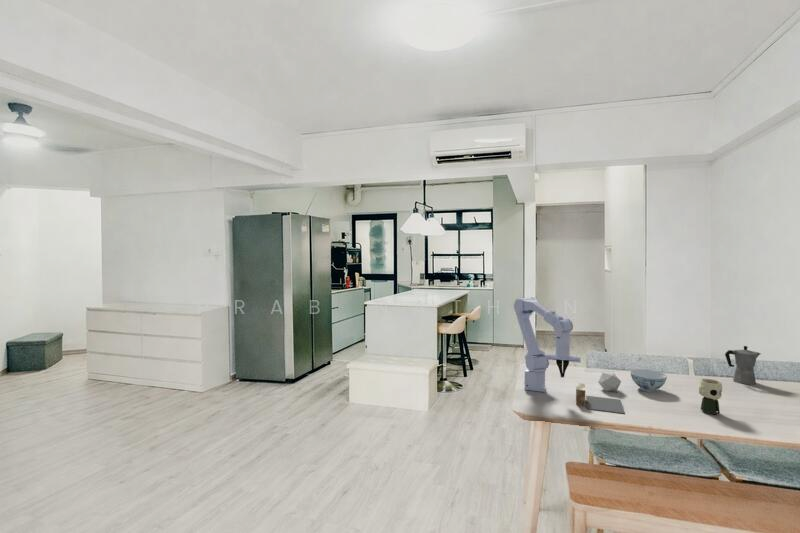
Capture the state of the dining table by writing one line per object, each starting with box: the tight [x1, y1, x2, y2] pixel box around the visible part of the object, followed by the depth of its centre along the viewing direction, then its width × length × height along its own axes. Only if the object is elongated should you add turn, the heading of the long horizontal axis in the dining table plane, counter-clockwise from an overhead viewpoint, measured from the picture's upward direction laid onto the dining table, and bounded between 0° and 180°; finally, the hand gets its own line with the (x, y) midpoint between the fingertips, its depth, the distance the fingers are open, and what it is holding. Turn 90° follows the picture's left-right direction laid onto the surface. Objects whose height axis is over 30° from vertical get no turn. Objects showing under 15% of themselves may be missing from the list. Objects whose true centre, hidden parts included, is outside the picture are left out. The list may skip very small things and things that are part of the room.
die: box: [597, 372, 622, 392], centre depth 202 cm, size 8×9×10 cm
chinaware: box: [629, 368, 668, 393], centre depth 202 cm, size 15×15×8 cm
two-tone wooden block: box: [575, 382, 586, 407], centre depth 187 cm, size 4×9×7 cm, turn 158°
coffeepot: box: [724, 345, 761, 386], centre depth 212 cm, size 15×9×18 cm, turn 79°
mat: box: [585, 395, 625, 415], centre depth 184 cm, size 14×16×1 cm
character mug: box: [698, 378, 723, 415], centre depth 174 cm, size 11×7×13 cm, turn 101°
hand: (562, 376), depth 190 cm, fingers closed
